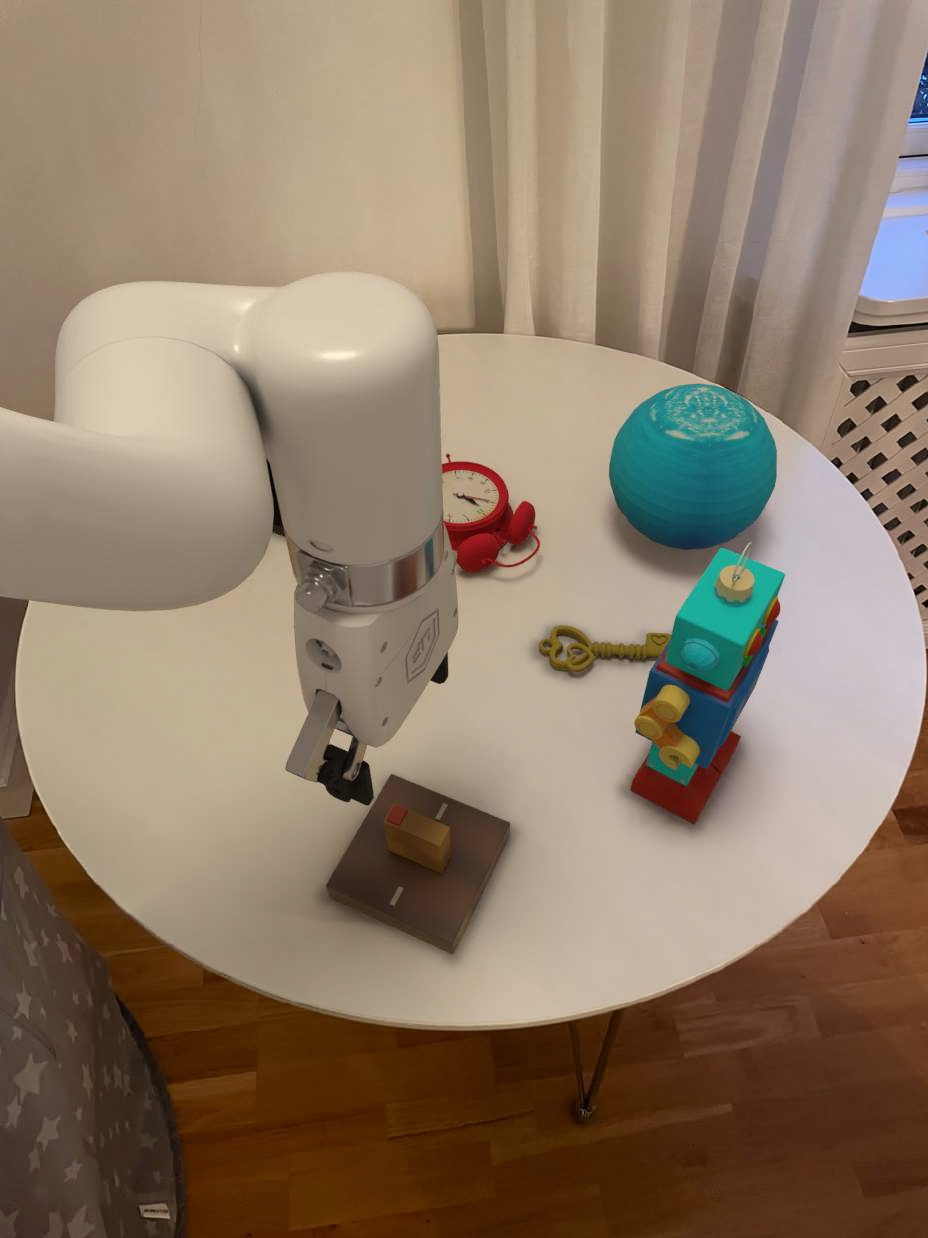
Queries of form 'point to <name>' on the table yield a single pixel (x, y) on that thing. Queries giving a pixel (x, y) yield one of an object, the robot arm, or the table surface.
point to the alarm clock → (482, 515)
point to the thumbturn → (418, 838)
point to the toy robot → (705, 681)
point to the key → (597, 648)
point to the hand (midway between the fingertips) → (388, 730)
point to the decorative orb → (693, 466)
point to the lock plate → (420, 867)
